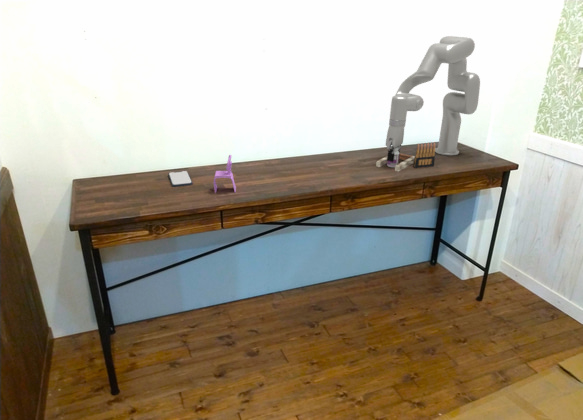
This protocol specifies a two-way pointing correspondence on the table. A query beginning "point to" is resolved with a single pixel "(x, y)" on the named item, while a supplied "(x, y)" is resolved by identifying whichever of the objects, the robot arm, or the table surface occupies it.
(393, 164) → the pill bottle
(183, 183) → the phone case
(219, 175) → the toy chair
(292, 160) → the table surface
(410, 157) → the guide channel
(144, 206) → the table surface
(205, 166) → the table surface
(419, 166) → the ammunition clip
